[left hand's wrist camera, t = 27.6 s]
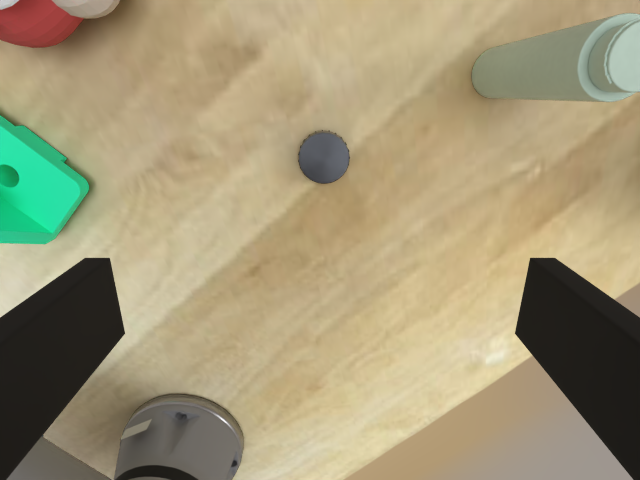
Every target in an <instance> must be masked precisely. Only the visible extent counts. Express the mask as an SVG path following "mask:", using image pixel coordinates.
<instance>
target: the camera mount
mask: <svg viewBox="0 0 640 480" xmlns="http://www.w3.org/2000/svg"><path fill="white" fill-rule="evenodd" d="M66 159H67V158H66V157H65V156H63V155H62V154H61V153H59V152H58V151H57V150H55V149H54V148H53V147H51V146H50V145H49V144H47V143H46V142H45V141H43V140H42V139H41V138H39V137H38V136H37V135H35V134H34V133H33V132H31V131H30V130H29V129H27V128H26V127H25V126H24V125H22V126H14V125H13V124H11V123H10V122H9V121H7V120H6V119H5V118H3V117H2V116H1V115H0V243H19V244H46V243H48V242H50V241H52V240H54V239H55V238H56V237H57V235H58V234H59V232H60V231H61V230H62V228H63V227H64V225H65V224H66V222H67V221H68V220H69V218H70V217H71V215H72V214H73V213H74V211H75V210H76V208H77V207H78V205H79V204H80V203H81V201H82V200H83V198H84V197H85V196H86V194H87V193H88V191H89V185H88V182H87V181H86V179H85V178H83V177H82V176H81V175H79V174H78V173H77V172H75V171H74V170H73V169H71V168H70V167H69V166H67V165H66V164H65V163H64V162H65V161H66ZM16 171H17V173H18V175H19V176H18V175H17V173H16Z"/></svg>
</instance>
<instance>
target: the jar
mask: <svg viewBox="0 0 640 480" xmlns="http://www.w3.org/2000/svg"><path fill="white" fill-rule="evenodd" d="M472 83H473V86H474V88H475V90H476V91H477V92H478V93H479V94H480V95H482V96H484V97H486V98H498V99H530V100H561V101H592V102H614V101H619V100H622V99H625V98H627V97H629V96H631V95H632V94H634V93H636V92H640V15H639V14H635V13H625V14H620V15H616V16H612V17H608V18H604V19H600V20H596V21H593V22H589V23H585V24H581V25H577V26H573V27H570V28H566V29H562V30H558V31H554V32H551V33H547V34H543V35H539V36H535V37H531V38H528V39H524V40H520V41H516V42H512V43H508V44H505V45H501V46H497V47H493V48H490V49H488V50H486V51H485V52H483V53H482V54H481V55H480V56H479V57H478V59H477V60H476V62H475V64H474V66H473V69H472Z"/></svg>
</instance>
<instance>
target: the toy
mask: <svg viewBox="0 0 640 480" xmlns="http://www.w3.org/2000/svg"><path fill="white" fill-rule="evenodd" d="M119 1H120V0H0V40H2V41H5V42H9V43H12V44H15V45H20V46H26V47H32V48H37V47H49V46H53V45H56V44H58V43H60V42H62V41H64V40H65V39H66V38H67V37H68V36H69V35H71V34H72V33H73V32H74V30H75V29H76V28H77V27H78V25H79V24H80V23H81V22H82V20H83V19H84V18H86V19H88V18H99V17H103V16H106V15H107V14H109V13H110V12H112V11H113V10H114V9H115V8H116V6H117V5H118V4H119Z"/></svg>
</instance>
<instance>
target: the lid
mask: <svg viewBox="0 0 640 480" xmlns="http://www.w3.org/2000/svg"><path fill="white" fill-rule="evenodd" d="M300 148H301V149H300V152H299V154H298V155H299V164H300V168H301V170H302V171H303V173H304V174H305V175H306V176H307V177H308V178H309V179H310V180H312V181H314V182H317V183H323V184H325V183H331V182H334V181H336V180H338V179H339V178H340V177H341V176H342V175H343V174H344V173H345V172H346V170H347V167H348V165H349V159H350V157H349V150H348V149H347V146H346V143H344V141H343V140H342V137H339V136H338V135H337V134H336V133H333V132H330V131H323V130H322V131H319V132H315V133H313V134H311V135H309V137H307V138H306V140H305V139H304V142H303V144H302V145H301V146H300Z"/></svg>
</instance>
